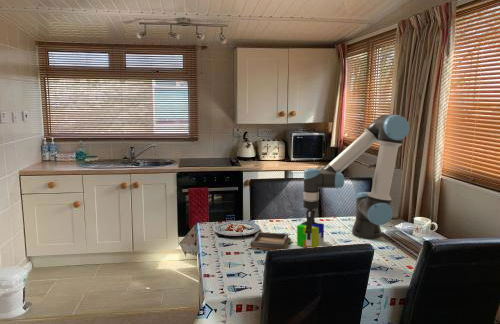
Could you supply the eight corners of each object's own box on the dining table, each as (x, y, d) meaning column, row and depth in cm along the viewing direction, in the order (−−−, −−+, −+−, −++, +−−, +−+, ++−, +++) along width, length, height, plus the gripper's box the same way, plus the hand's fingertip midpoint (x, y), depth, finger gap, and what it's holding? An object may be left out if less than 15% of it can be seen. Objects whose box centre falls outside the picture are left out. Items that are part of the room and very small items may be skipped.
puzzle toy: (323, 243, 195) (323, 224, 194) (315, 249, 187) (316, 229, 185) (305, 239, 200) (305, 221, 199) (297, 245, 192) (297, 226, 191)
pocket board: (256, 236, 205) (256, 231, 205) (290, 239, 201) (290, 233, 200) (248, 248, 188) (248, 242, 188) (284, 251, 184) (284, 245, 183)
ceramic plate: (206, 236, 208) (205, 230, 207) (225, 222, 232) (225, 218, 231) (250, 241, 199) (250, 235, 198) (265, 227, 223) (265, 222, 222)
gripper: (306, 194, 203) (305, 232, 206) (300, 205, 179) (299, 249, 182) (320, 194, 201) (319, 233, 204) (316, 206, 177) (315, 250, 180)
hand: (310, 241), depth 193 cm, fingers open, 13 cm apart
